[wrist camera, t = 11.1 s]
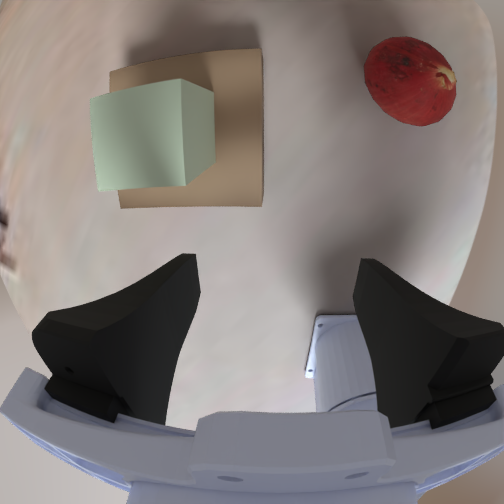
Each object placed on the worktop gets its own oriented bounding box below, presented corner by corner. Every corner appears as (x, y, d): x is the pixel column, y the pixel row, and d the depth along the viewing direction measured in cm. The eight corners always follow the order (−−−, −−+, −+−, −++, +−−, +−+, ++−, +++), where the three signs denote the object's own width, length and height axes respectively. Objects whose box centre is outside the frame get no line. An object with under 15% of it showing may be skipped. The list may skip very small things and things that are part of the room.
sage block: (215, 162, 16) (185, 185, 10) (150, 166, 16) (98, 191, 11) (214, 92, 14) (181, 78, 8) (146, 100, 14) (89, 98, 9)
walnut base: (263, 194, 19) (261, 206, 17) (138, 196, 20) (120, 208, 18) (263, 59, 15) (261, 48, 12) (130, 75, 16) (109, 71, 13)
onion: (339, 98, 16) (381, 86, 9) (364, 36, 13) (413, -1, 6) (406, 136, 16) (470, 153, 9) (428, 77, 14) (495, 69, 7)
